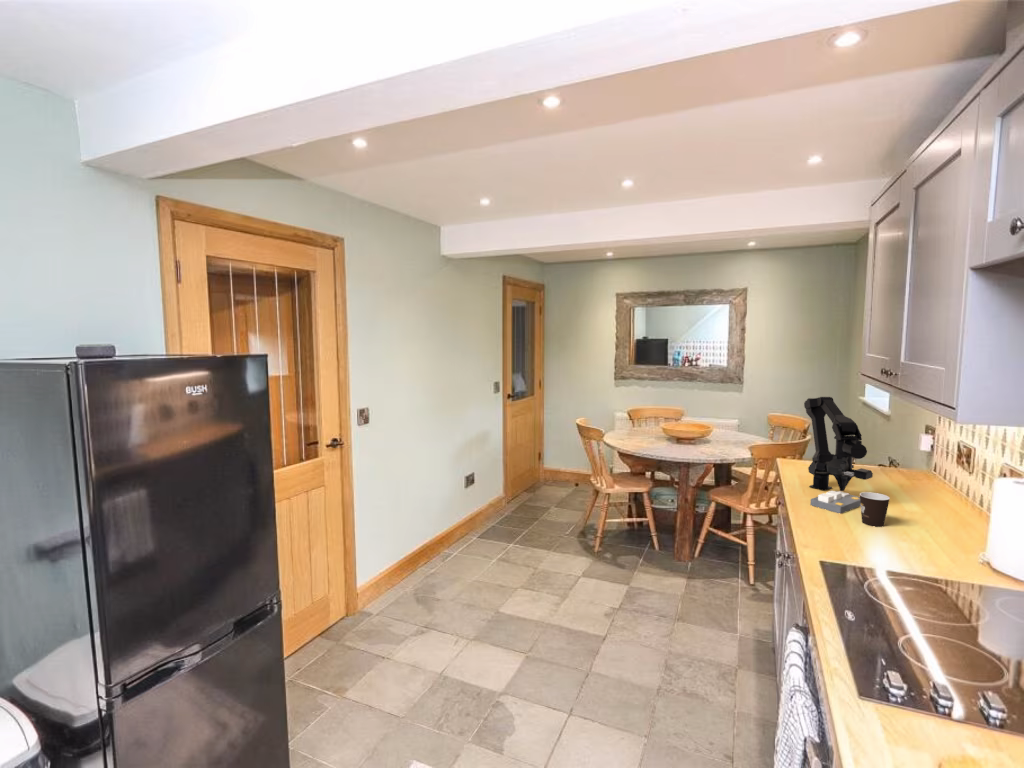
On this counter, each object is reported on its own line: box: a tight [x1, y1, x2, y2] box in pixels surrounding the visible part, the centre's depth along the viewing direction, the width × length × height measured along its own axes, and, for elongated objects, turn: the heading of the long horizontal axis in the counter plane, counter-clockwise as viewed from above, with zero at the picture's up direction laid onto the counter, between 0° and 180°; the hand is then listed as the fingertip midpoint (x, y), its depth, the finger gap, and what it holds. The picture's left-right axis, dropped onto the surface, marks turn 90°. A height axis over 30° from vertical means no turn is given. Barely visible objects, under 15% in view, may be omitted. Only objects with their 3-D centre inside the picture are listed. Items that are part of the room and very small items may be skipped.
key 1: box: [817, 492, 834, 503], centre depth 197 cm, size 4×4×3 cm
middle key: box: [825, 490, 842, 500], centre depth 200 cm, size 4×4×3 cm
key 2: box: [837, 490, 850, 497], centre depth 203 cm, size 4×4×3 cm
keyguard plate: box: [810, 490, 861, 515], centre depth 199 cm, size 18×11×3 cm, turn 121°
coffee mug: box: [859, 491, 891, 528], centre depth 181 cm, size 12×9×10 cm
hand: (842, 490), depth 203 cm, fingers closed
